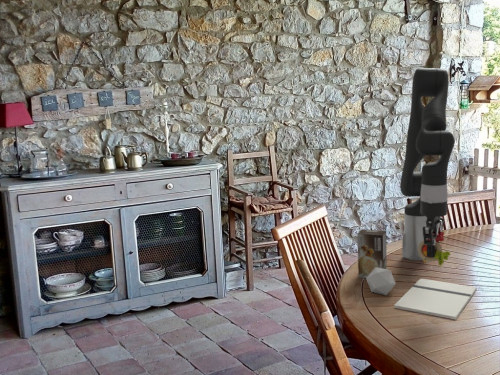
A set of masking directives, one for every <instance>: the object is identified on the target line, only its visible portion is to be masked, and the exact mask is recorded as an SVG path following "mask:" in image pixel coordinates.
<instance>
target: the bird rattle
mask: <svg viewBox="0 0 500 375" xmlns="http://www.w3.org/2000/svg"><path fill="white" fill-rule="evenodd" d="M433 235H434V234H433ZM444 235H445V231H442V232H441V234H440V235H439V234H438V237H437V238H436V241H435V243H436V244H435V247H436V248H435V249H436V253H435V257H433V258H432V257H427V245H426V244H424V240H423V241H421V242H420V244H419V246H418V253H419V255H420V257H421V258H422V259H423V260H422V262H423V263H428V262H429V263H431V262H436V261H437V262H438V266H440V267H441V266H442V265H443V264H444V263H445V261H448V259H449V256H451V252H449V251H443V248H442V246H441V244H440V242H444V240H445V239H444ZM429 240H430V239H429ZM430 241H431V240H430ZM438 241H439V242H438ZM444 260H445V261H444Z"/></svg>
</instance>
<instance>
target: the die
mask: <svg viewBox="0 0 500 375" xmlns="http://www.w3.org/2000/svg"><path fill="white" fill-rule="evenodd" d="M365 279H366V281H367V285H368V287H369V288H370V289H369V290H370V292H371V293H373V292H374V293H373V294H378V295H379V294H380V295H384V296H387V295H388V294H389V293H390V292H391V291H392V289H393V288H394V287H395V286H396V281H395V279H394V276H393V274H392V270H391V269H388V268H387V269H383V268H377V267H375V268H374V270H373V271H372V272H371V273H370V274H369V275H368V277H367V278H365Z"/></svg>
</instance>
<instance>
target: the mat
mask: <svg viewBox="0 0 500 375" xmlns="http://www.w3.org/2000/svg"><path fill="white" fill-rule="evenodd" d="M477 288H478V287H476V286H470V285H464V284H458V283H453V282H446V281H440V280H433V279H427V278H420V279H419V280H417V281H416V282H415V284H413V285H412V287H411V288H410V289H408V290H407V291H406V293H405V294H404V295H402V297H401V298H399V300H398V301H397V302H396V303H395V304H394V305H393V308H395V309H399V310H404V311H408V312H409V311H410V312H414V313H419V314H424V315H425V314H426V315H430V316H436V317H439V318H446V319H452V320H457V318H458V317H459V316H460V314H461V313H462V311H463V310H464V308H466V306H467V304H468V303H469V301H470V300H471V298H472V297H473V295H474V294H475V292H476V291H477Z"/></svg>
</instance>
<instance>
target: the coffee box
mask: <svg viewBox="0 0 500 375" xmlns="http://www.w3.org/2000/svg"><path fill="white" fill-rule="evenodd" d="M387 262H388V261H387V230H379V229H378V230H376V229H375V230H374V229H365V228H364V229H363V228H362V229H360V230H359V231H358V233H357V264H358V266H357V273H358V278H362V279H366V278H367V277H368V275H369V274H370V273H371V272H372V271H373V270H374V268H375V267H377V268H383V269H388V266H387V265H388V264H387Z"/></svg>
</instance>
